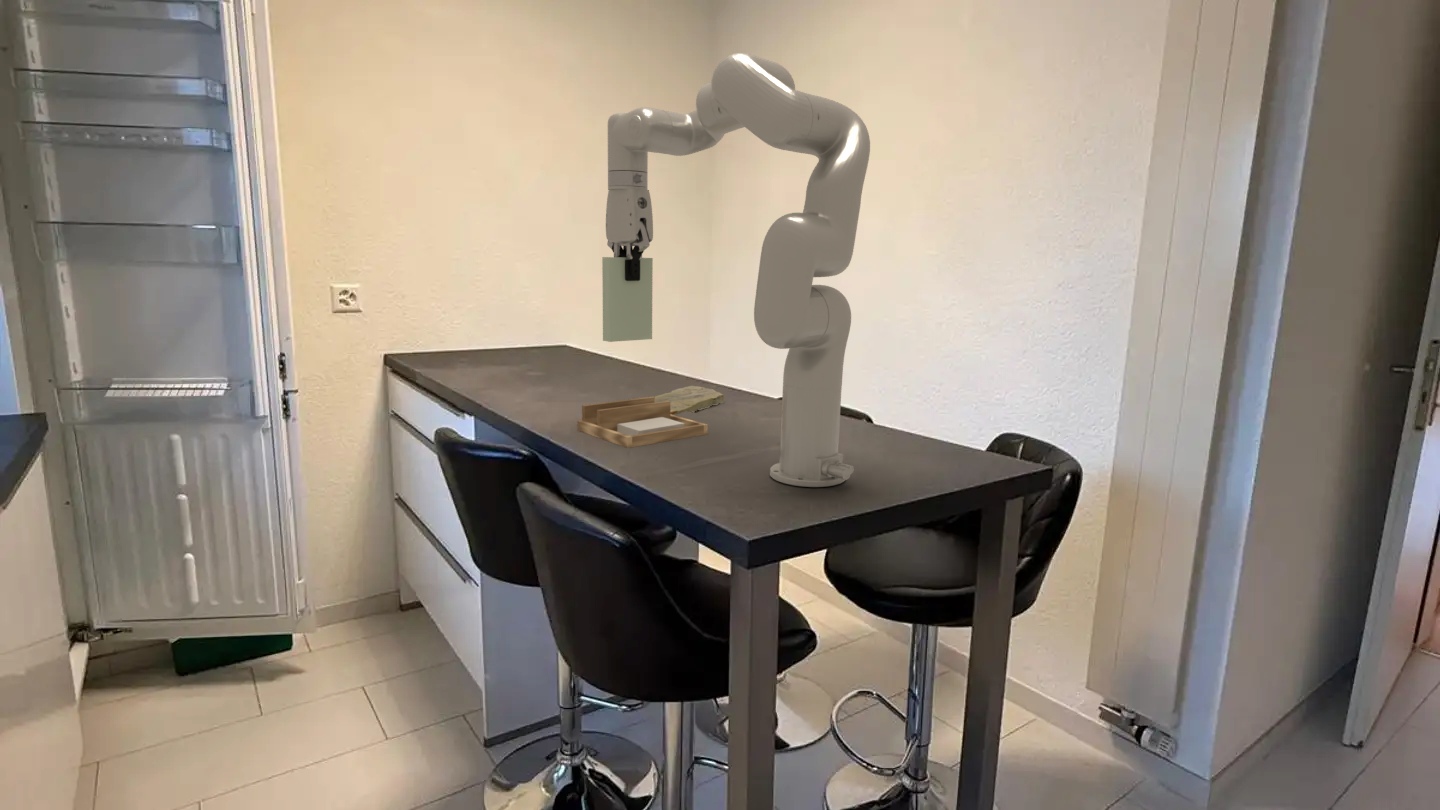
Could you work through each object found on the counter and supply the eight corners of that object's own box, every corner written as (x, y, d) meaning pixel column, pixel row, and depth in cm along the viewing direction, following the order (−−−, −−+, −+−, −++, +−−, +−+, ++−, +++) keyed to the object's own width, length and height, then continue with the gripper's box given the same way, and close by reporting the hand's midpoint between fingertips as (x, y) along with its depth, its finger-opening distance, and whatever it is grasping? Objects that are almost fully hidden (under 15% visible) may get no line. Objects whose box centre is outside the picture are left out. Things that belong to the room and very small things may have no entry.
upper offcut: (684, 433, 155) (684, 423, 155) (639, 441, 148) (639, 430, 147) (662, 426, 160) (662, 417, 160) (617, 434, 153) (617, 424, 153)
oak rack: (707, 439, 156) (708, 409, 155) (627, 453, 144) (627, 421, 143) (655, 423, 169) (655, 396, 168) (577, 435, 156) (577, 405, 155)
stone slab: (733, 389, 198) (674, 404, 171) (732, 405, 198) (673, 423, 172) (689, 383, 203) (625, 397, 176) (689, 399, 204) (625, 415, 177)
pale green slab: (652, 339, 159) (652, 257, 156) (609, 341, 152) (609, 257, 149) (644, 337, 161) (645, 257, 158) (602, 340, 154) (602, 257, 151)
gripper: (669, 182, 147) (668, 282, 151) (620, 186, 159) (620, 278, 163) (636, 178, 142) (635, 282, 146) (588, 183, 154) (589, 278, 158)
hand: (627, 279), depth 154 cm, fingers closed on pale green slab, 2 cm apart
